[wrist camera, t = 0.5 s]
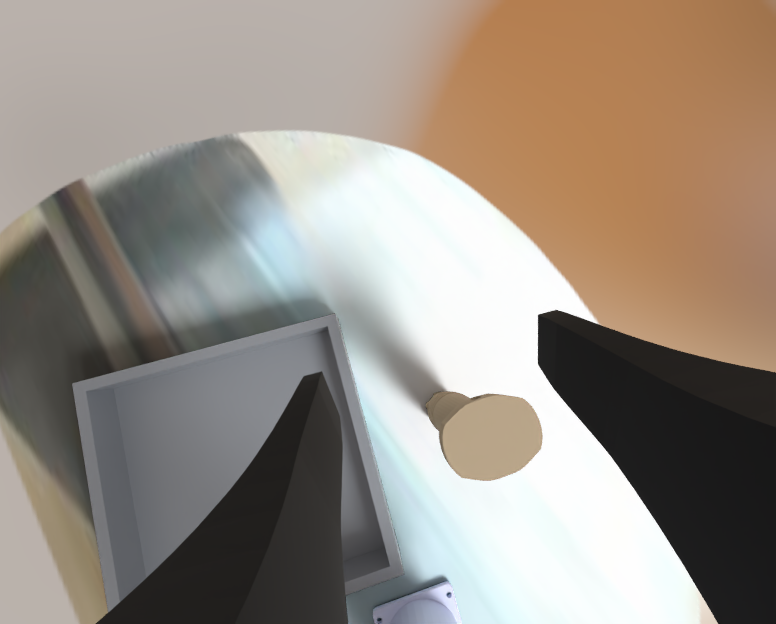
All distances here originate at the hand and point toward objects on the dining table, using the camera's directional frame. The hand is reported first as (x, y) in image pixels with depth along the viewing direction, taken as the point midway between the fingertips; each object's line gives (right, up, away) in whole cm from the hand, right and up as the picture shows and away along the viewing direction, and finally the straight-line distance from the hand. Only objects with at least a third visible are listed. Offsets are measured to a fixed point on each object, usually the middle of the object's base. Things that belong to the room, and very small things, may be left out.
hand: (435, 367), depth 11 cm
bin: (-15, -13, +23) cm, 31 cm away
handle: (+4, -8, +25) cm, 27 cm away
